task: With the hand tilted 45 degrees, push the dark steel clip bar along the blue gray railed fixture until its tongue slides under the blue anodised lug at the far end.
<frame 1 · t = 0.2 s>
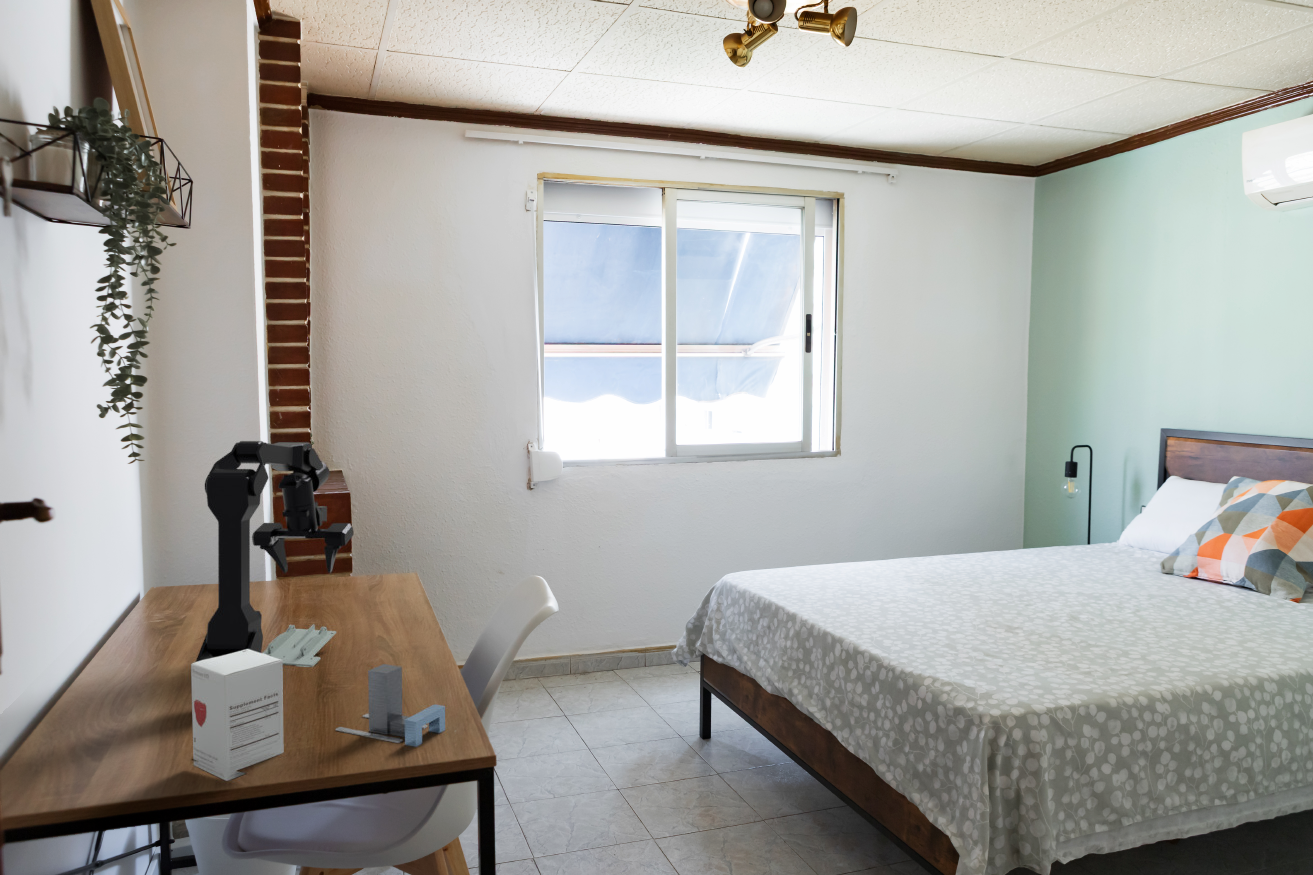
hand: (308, 571, 182), 15 cm above the table, tool pointing down, fingers open, 9 cm apart
metal bracket: (296, 657, 177), on the table
blue gray railed fixture: (389, 736, 136), on the table
clip: (395, 700, 135), point 6 cm above the table, slide at 0.0 cm
supplement box: (238, 764, 126), on the table
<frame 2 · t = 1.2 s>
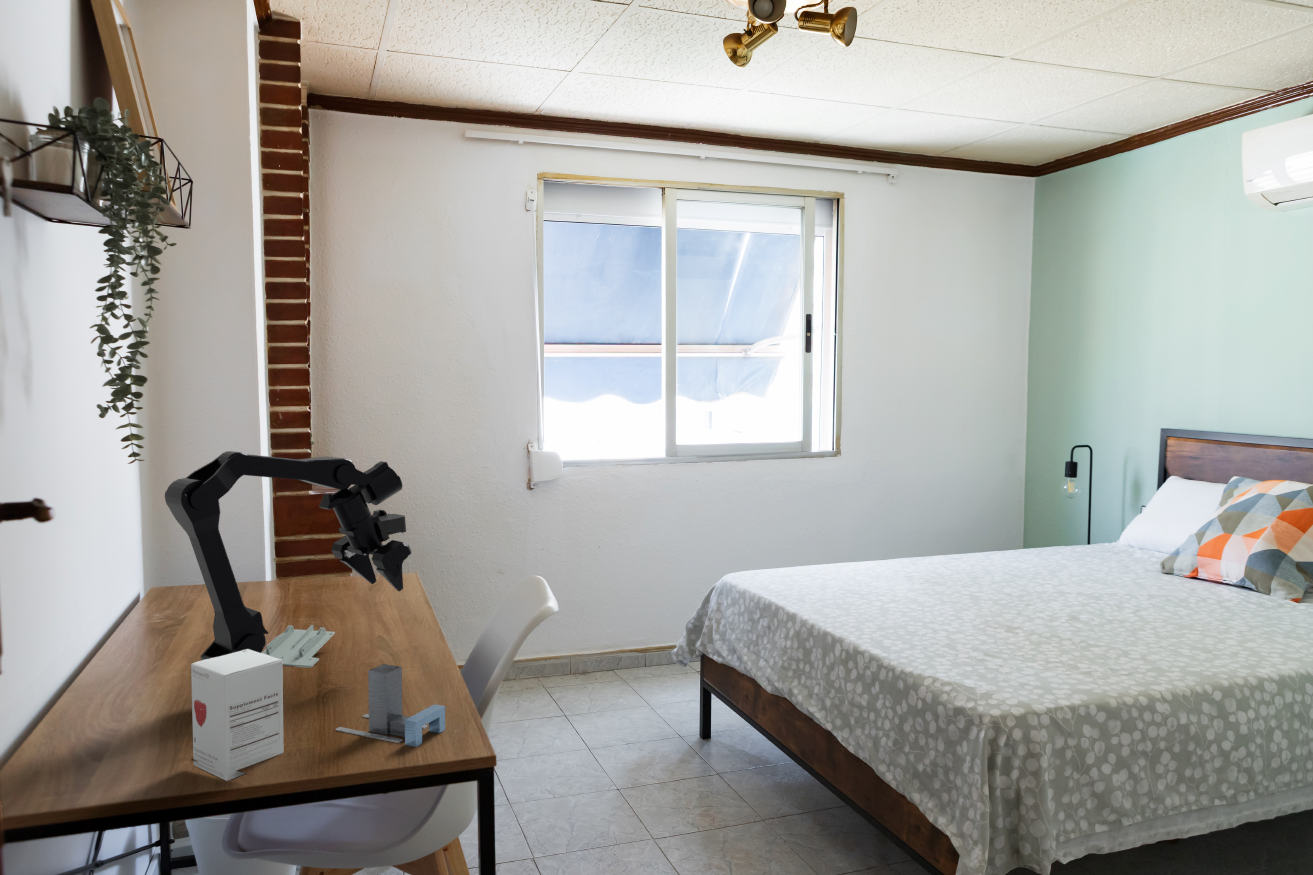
hand: (387, 586, 171), 15 cm above the table, tool tilted 25°, fingers open, 9 cm apart
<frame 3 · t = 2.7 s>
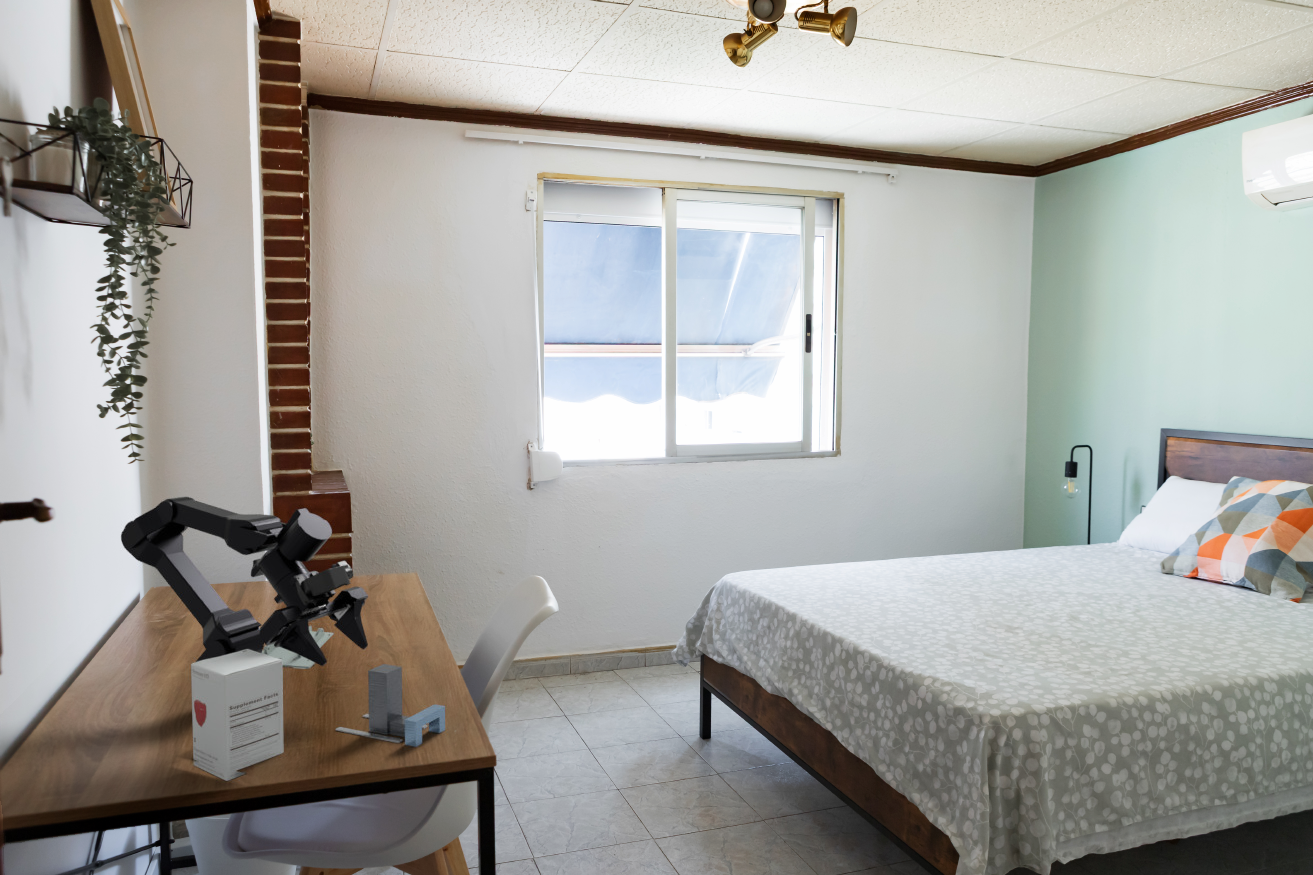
hand: (345, 655, 139), 11 cm above the table, tool tilted 45°, fingers open, 9 cm apart
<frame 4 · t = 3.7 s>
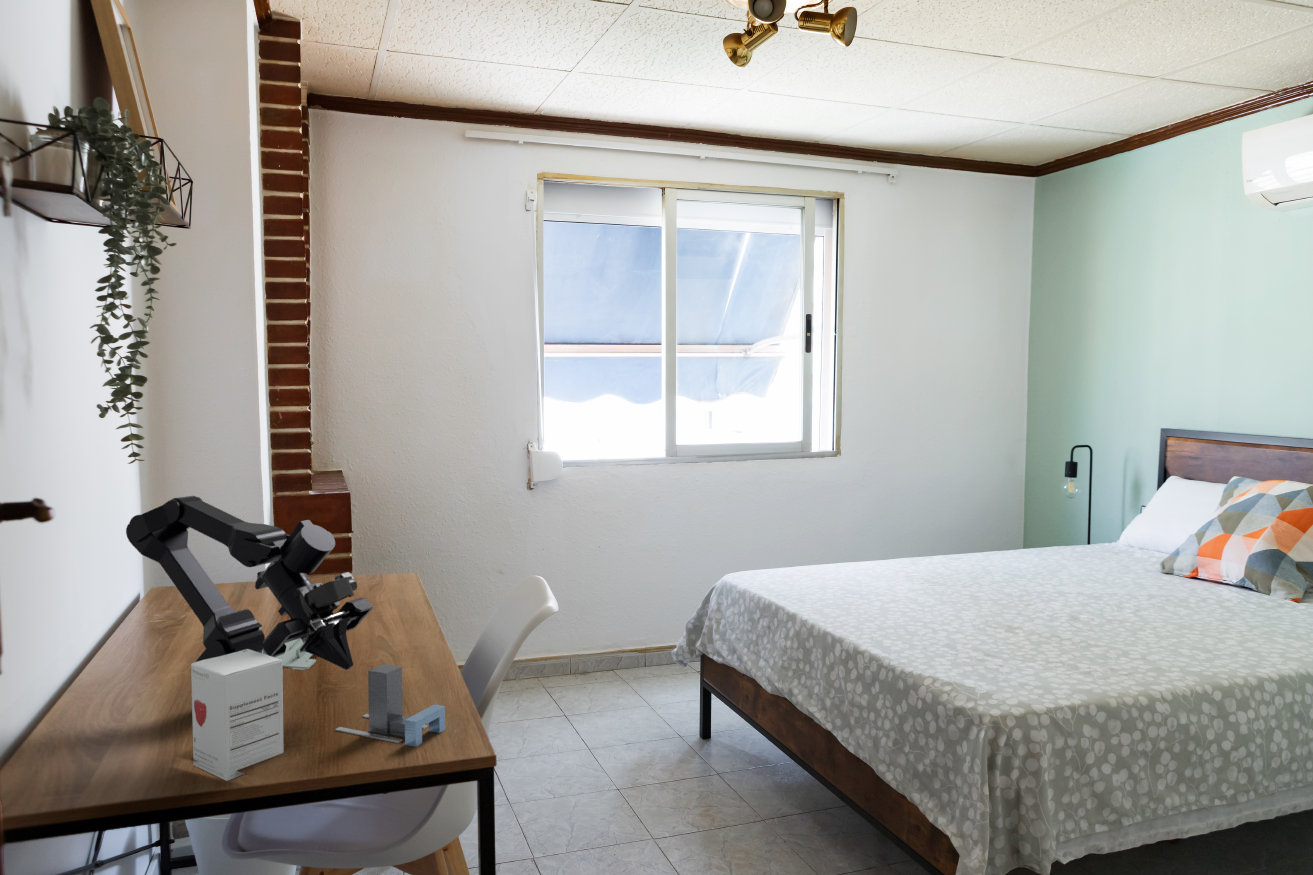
hand: (350, 667, 138), 10 cm above the table, tool tilted 45°, fingers closed
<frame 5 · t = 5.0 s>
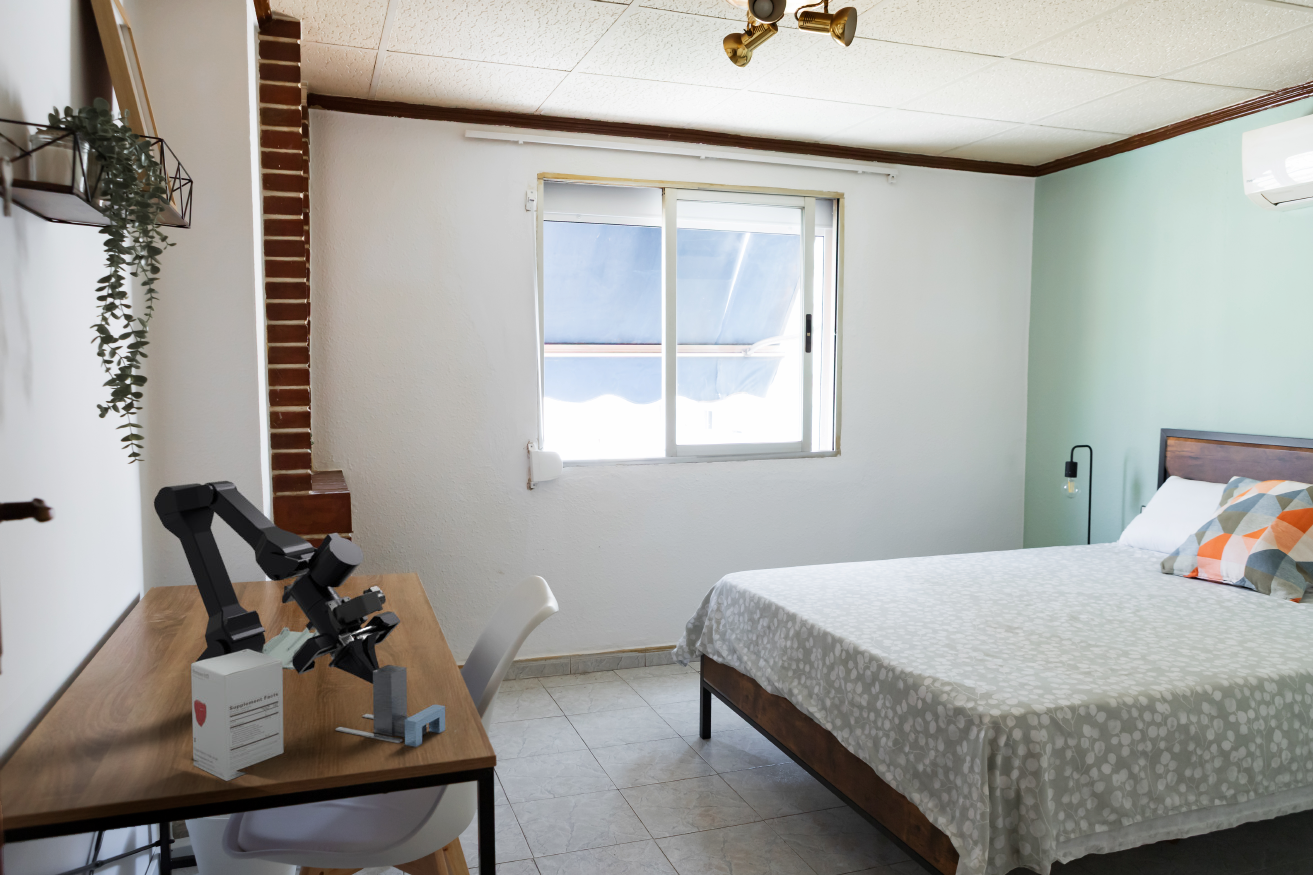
hand: (379, 683, 136), 8 cm above the table, tool tilted 45°, fingers closed, pressing on clip
clip: (400, 701, 135), point 6 cm above the table, slide at 0.9 cm, touching gripper
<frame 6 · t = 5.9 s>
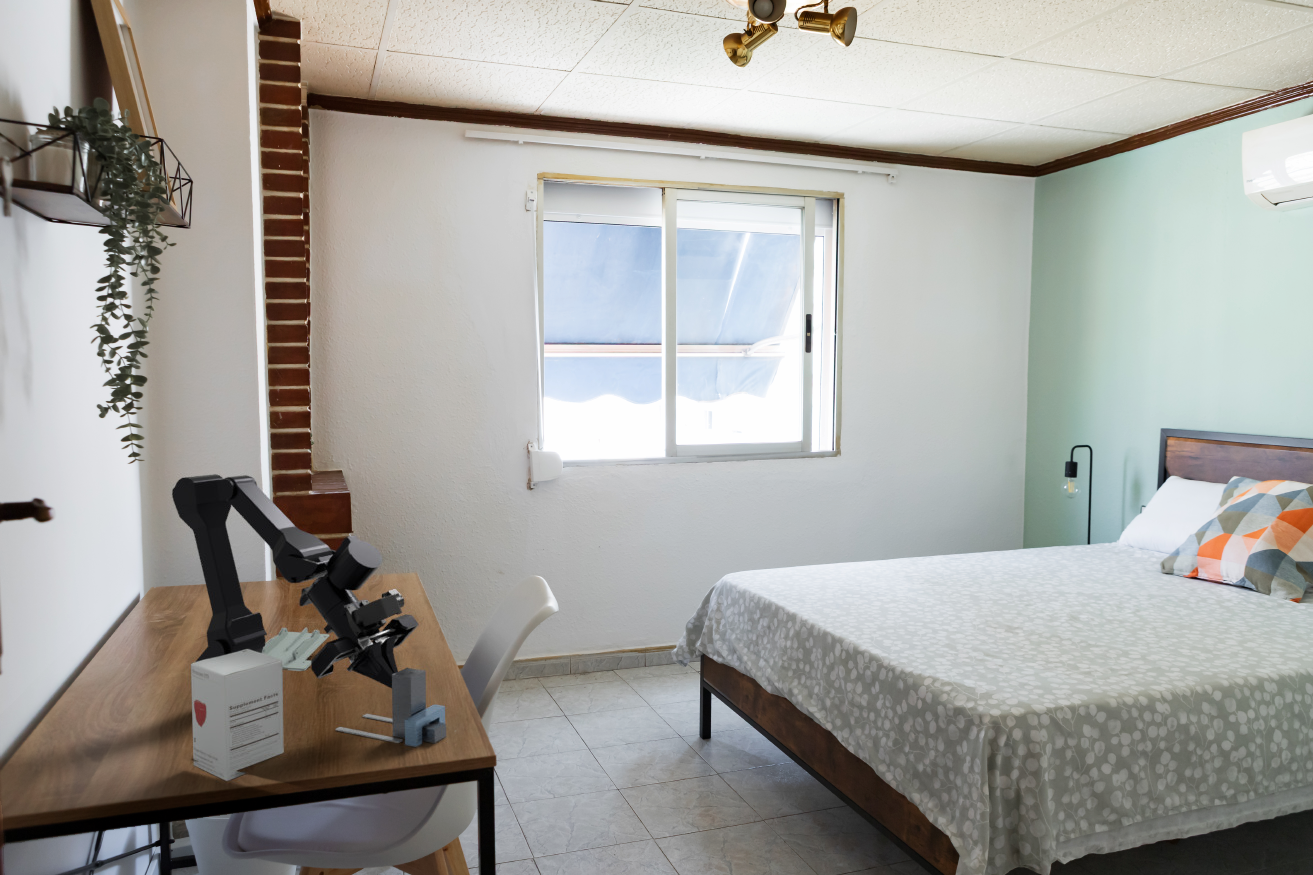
hand: (398, 687, 135), 8 cm above the table, tool tilted 45°, fingers closed, pressing on clip
clip: (419, 704, 133), point 6 cm above the table, slide at 4.5 cm, touching gripper
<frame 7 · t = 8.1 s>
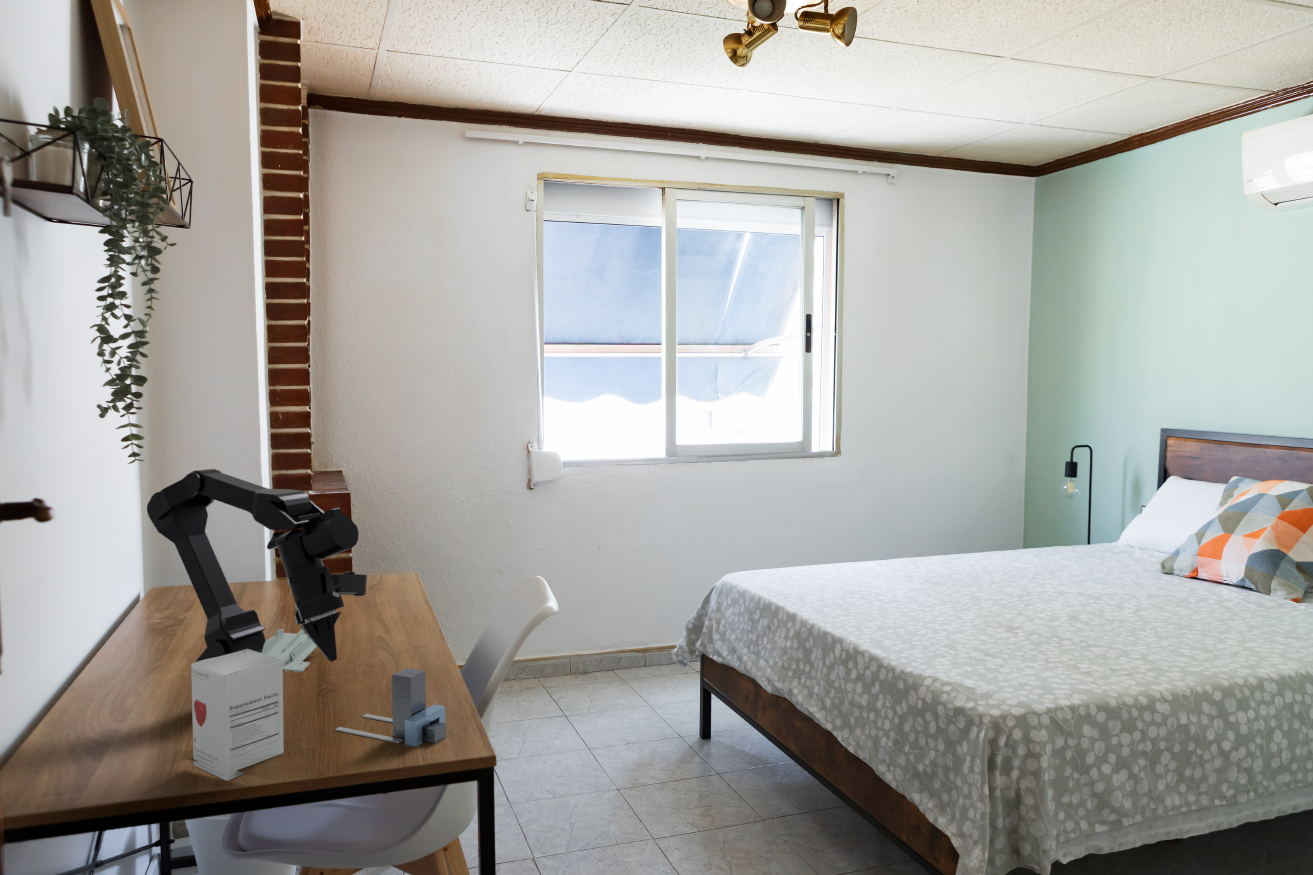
hand: (333, 660, 139), 11 cm above the table, tool tilted 20°, fingers closed
clip: (419, 704, 133), point 6 cm above the table, slide at 4.5 cm
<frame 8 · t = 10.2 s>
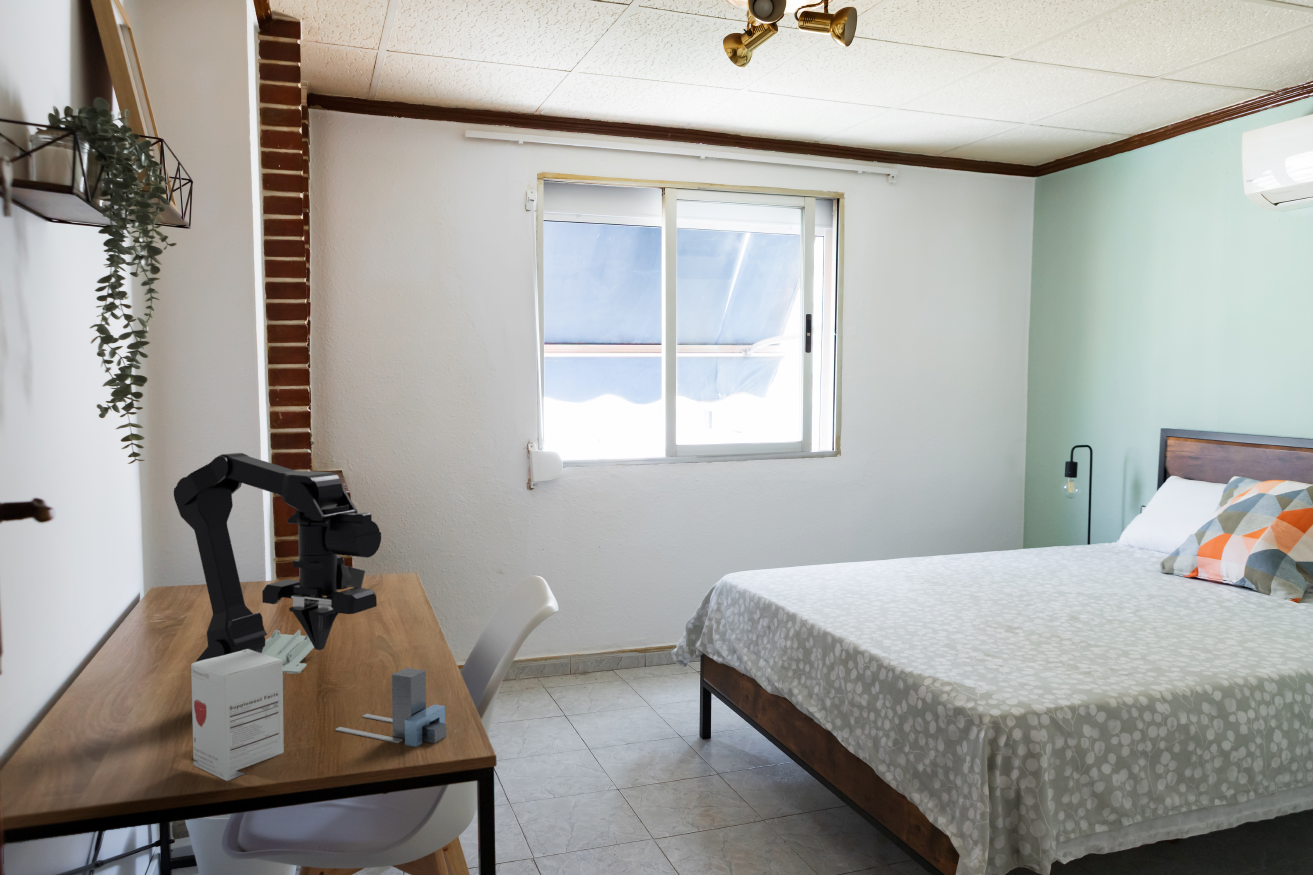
hand: (319, 649, 140), 12 cm above the table, tool pointing down, fingers closed
at the end: clip slide at 4.5 cm; the gripper is holding nothing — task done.
